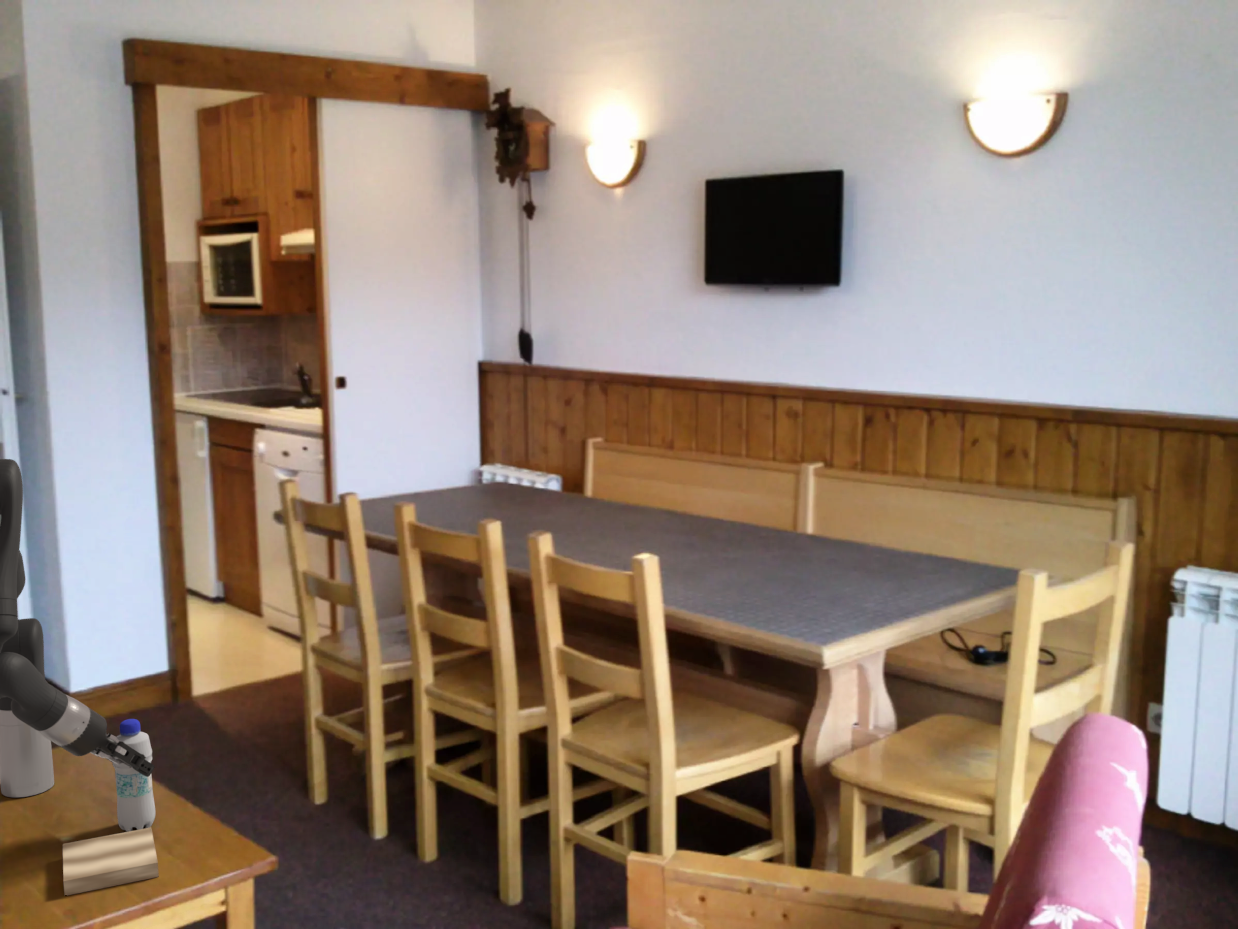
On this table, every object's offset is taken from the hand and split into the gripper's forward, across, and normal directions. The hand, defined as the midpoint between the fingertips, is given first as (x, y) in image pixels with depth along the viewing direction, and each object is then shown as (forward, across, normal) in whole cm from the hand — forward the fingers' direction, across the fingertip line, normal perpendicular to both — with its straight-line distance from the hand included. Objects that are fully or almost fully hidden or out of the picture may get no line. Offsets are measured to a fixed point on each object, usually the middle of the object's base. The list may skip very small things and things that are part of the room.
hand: (136, 766), depth 213 cm
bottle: (+8, 0, +8) cm, 11 cm away
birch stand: (-1, -10, +16) cm, 19 cm away
